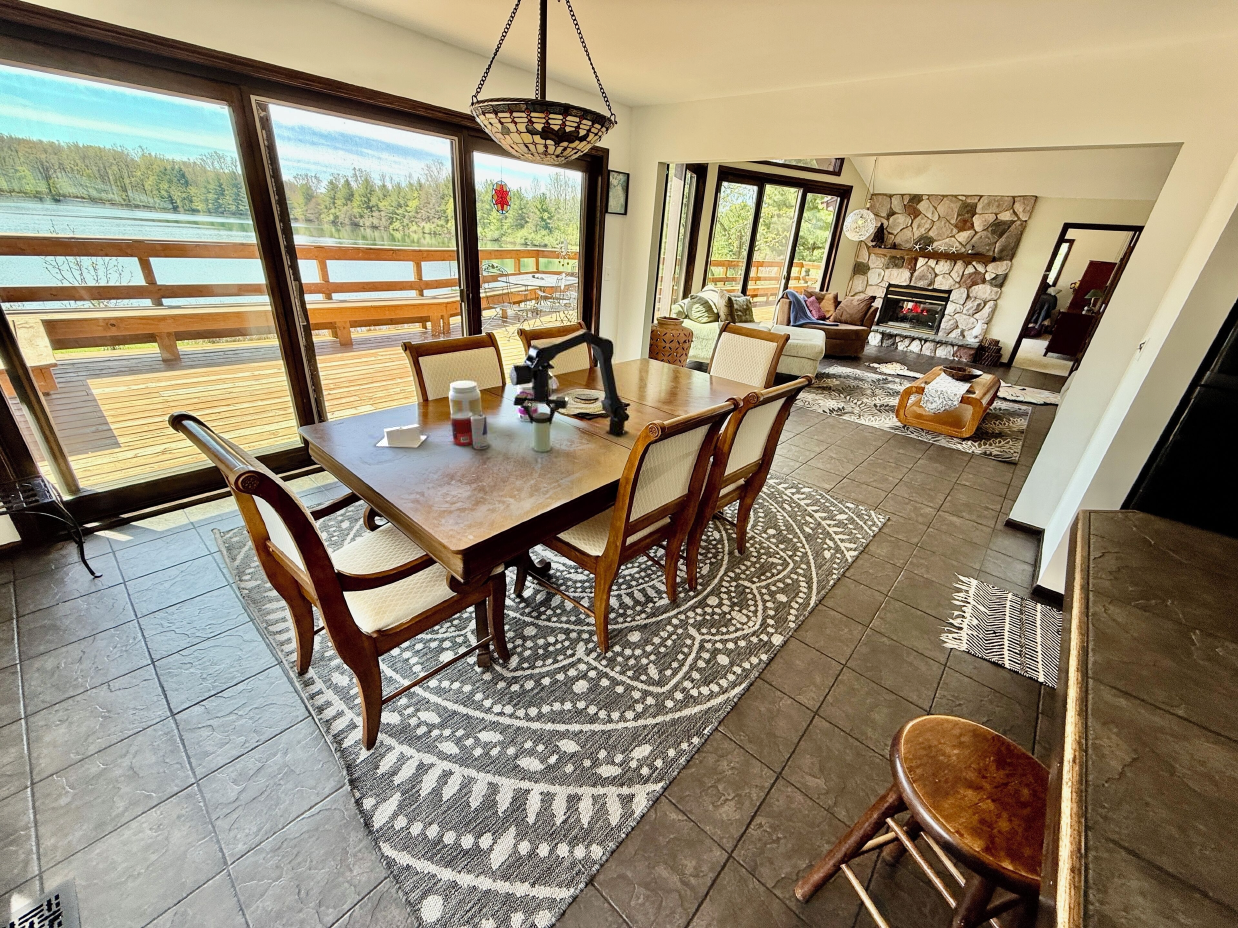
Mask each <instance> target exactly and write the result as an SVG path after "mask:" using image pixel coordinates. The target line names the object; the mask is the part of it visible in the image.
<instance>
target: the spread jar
mask: <svg viewBox="0 0 1238 928" xmlns="http://www.w3.org/2000/svg"><path fill="white" fill-rule="evenodd" d="M559 385H560V383H559V381H558V379H557V378H556V377H555V376H554V375H553V374H552V372H551V371H549V387H552V390H556V389H557V388H559Z"/></svg>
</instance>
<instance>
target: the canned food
mask: <svg viewBox="0 0 1238 928" xmlns="http://www.w3.org/2000/svg"><path fill="white" fill-rule="evenodd" d="M472 415H473V413H471V412H468V411H459V412H455V413H452V414H451V413H450V425H451V433H452V442H453V444H454V445H456V446H459V447H463V446H464V447H465V446H470V445H473V437H472V426H471V416H472Z"/></svg>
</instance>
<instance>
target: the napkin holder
mask: <svg viewBox="0 0 1238 928" xmlns="http://www.w3.org/2000/svg"><path fill="white" fill-rule="evenodd" d="M383 433H384V437H383V438H382V439H381V440H380V441H379V442H378V443H376V445H375V447H392V448H393V447H396V448H418V447H419V446H420V445H421V444H422V443H423V441H424V440H426V438H427V437H428V435H421V429H420V425H419V424H418V423H416V424H410V425H405V426H394V427H388V428H383Z"/></svg>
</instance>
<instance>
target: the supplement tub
mask: <svg viewBox="0 0 1238 928" xmlns="http://www.w3.org/2000/svg"><path fill="white" fill-rule="evenodd" d="M449 389H450V390H449V392H448V399H449V407H450V415H451V414H452V413H455V412H459V411H468V412H471V413H473V415H474V414H483V409H482V407H483V405H482V397H481V391H480V390H479V386H478V382H476V381H473V380H457V381H454V382H451V383H450V384H449Z"/></svg>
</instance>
